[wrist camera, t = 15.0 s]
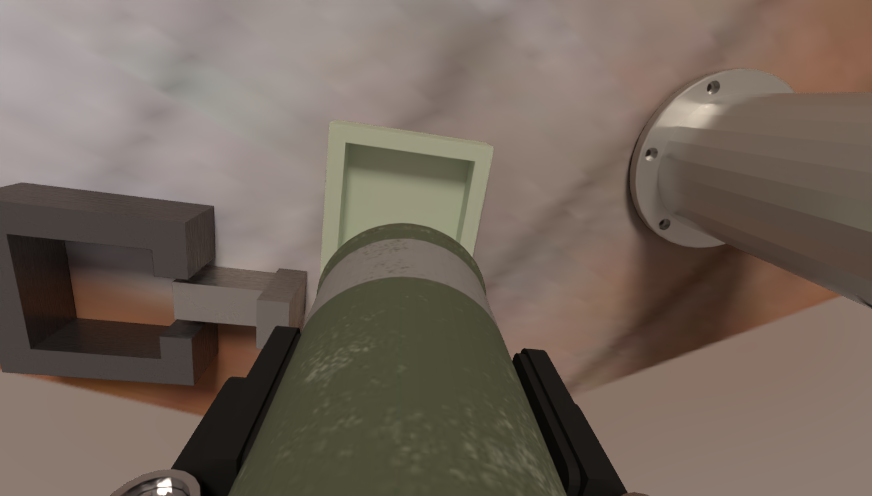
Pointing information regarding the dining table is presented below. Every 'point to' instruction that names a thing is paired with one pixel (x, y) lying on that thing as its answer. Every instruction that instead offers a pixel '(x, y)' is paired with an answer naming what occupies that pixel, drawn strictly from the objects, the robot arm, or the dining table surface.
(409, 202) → the tray
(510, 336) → the dining table surface
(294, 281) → the grey stepped block
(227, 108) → the dining table surface
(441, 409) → the grenade
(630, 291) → the dining table surface
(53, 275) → the socket
